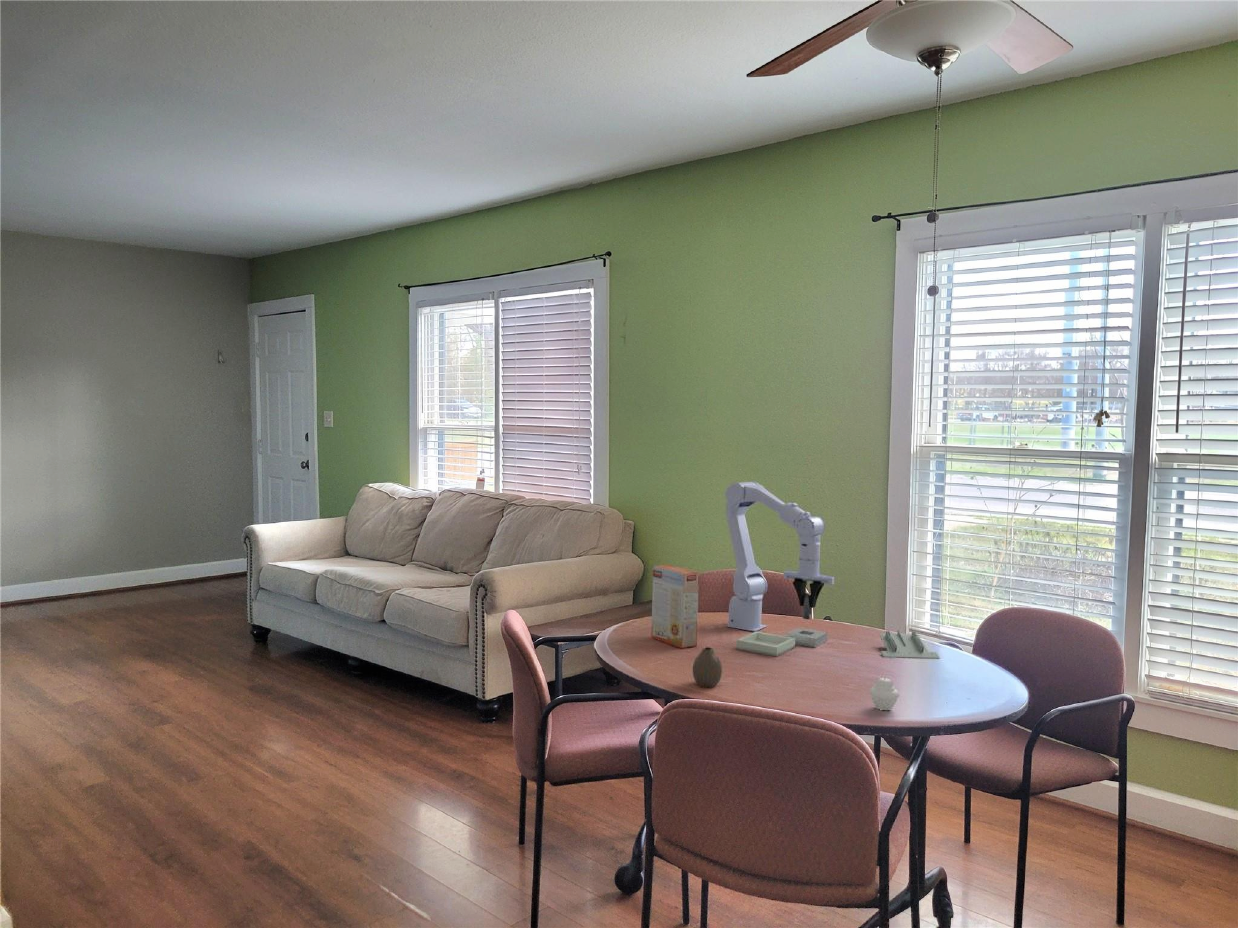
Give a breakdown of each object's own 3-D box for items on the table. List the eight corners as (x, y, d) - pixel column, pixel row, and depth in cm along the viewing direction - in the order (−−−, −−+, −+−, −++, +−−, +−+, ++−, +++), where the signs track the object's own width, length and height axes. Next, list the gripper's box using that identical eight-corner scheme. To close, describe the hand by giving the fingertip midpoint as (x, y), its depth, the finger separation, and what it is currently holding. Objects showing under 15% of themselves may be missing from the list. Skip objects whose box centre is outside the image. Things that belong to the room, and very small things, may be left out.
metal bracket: (872, 626, 246) (925, 627, 245) (869, 644, 247) (922, 645, 247) (886, 653, 232) (942, 655, 232) (883, 672, 234) (939, 673, 234)
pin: (800, 618, 247) (801, 593, 247) (804, 616, 250) (805, 592, 249) (809, 619, 246) (810, 595, 246) (813, 617, 248) (814, 593, 248)
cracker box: (698, 646, 240) (700, 571, 239) (680, 649, 237) (683, 573, 235) (667, 635, 252) (669, 563, 250) (650, 637, 248) (652, 565, 247)
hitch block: (785, 641, 247) (785, 633, 247) (797, 635, 254) (798, 627, 254) (815, 647, 242) (815, 638, 242) (827, 640, 249) (827, 632, 249)
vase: (713, 691, 202) (714, 654, 201) (687, 685, 205) (688, 649, 205) (726, 683, 207) (727, 647, 207) (700, 678, 211) (701, 643, 211)
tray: (736, 648, 239) (736, 639, 238) (755, 639, 248) (755, 631, 248) (776, 656, 232) (777, 647, 232) (794, 647, 242) (795, 638, 242)
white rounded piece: (867, 710, 191) (869, 679, 190) (870, 702, 196) (871, 671, 196) (897, 715, 189) (898, 683, 188) (899, 706, 194) (900, 675, 194)
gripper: (779, 557, 248) (778, 604, 248) (828, 563, 239) (826, 612, 240) (789, 554, 253) (788, 600, 254) (837, 560, 245) (835, 608, 246)
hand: (807, 606), depth 248 cm, fingers closed on pin, 3 cm apart
